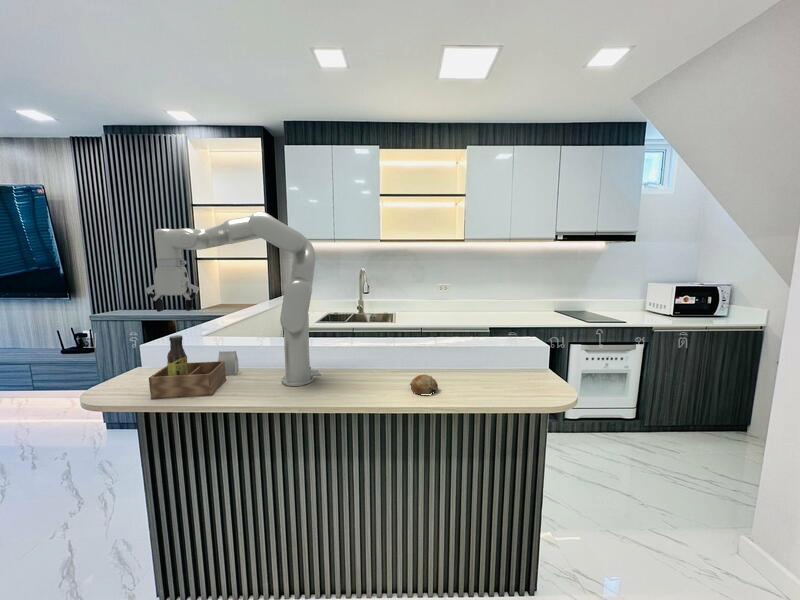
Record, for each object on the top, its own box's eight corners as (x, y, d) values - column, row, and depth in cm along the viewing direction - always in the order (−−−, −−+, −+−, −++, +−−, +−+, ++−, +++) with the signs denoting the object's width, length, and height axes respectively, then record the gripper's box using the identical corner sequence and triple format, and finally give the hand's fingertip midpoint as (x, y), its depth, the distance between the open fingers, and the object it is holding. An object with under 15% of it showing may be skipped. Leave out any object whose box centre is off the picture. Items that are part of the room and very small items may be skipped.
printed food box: (235, 375, 141) (233, 352, 139) (218, 375, 140) (217, 352, 139) (238, 372, 145) (237, 350, 143) (222, 372, 144) (221, 350, 143)
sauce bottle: (179, 391, 122) (174, 339, 119) (164, 390, 123) (159, 338, 121) (193, 384, 129) (189, 334, 126) (179, 383, 130) (175, 333, 127)
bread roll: (421, 406, 122) (429, 390, 119) (403, 388, 127) (409, 372, 124) (437, 398, 129) (445, 382, 126) (419, 380, 135) (426, 365, 131)
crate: (226, 380, 136) (224, 361, 135) (212, 395, 121) (210, 374, 120) (172, 382, 132) (170, 363, 131) (150, 399, 118) (148, 377, 117)
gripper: (200, 263, 125) (204, 308, 128) (149, 263, 122) (154, 309, 124) (192, 264, 118) (196, 311, 120) (137, 264, 115) (142, 313, 117)
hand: (174, 310), depth 122 cm, fingers open, 9 cm apart
